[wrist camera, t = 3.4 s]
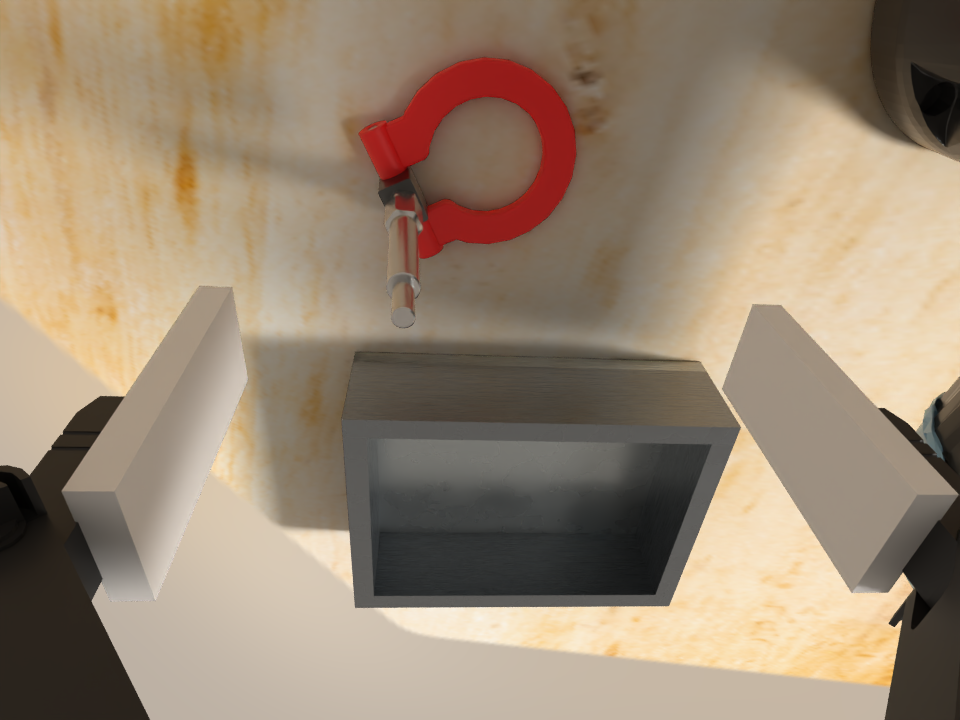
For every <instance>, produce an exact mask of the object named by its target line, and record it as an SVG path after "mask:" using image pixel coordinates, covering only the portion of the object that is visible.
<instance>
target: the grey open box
mask: <svg viewBox="0 0 960 720" xmlns="http://www.w3.org/2000/svg"><path fill="white" fill-rule="evenodd" d="M341 420H342V434H343V448H344V462H345V476H346V490H347V503H348V517H349V531H350V545H351V559H352V572H353V586H354V600H355V608H398V607H591V606H669V605H670V602H671V600H672V597H673V595H674V592H675V590H676V587H677V585H678V582H679V580H680V577H681V575H682V572H683V570H684V567H685V565H686V562H687V560H688V557H689V555H690V552H691V550H692V547H693V545H694V543H695V540H696V538H697V535H698V533H699V530H700V528H701V525H702V523H703V520H704V518H705V515H706V513H707V510H708V508H709V505H710V503H711V500H712V498H713V495H714V493H715V490H716V488H717V485H718V483H719V480H720V478H721V476H722V473H723V471H724V468H725V466H726V463H727V461H728V458H729V456H730V453H731V451H732V448H733V446H734V443H735V441H736V438H737V436H738V433H739V431H740V428H741V427H740V425H739V424H738V422H737V420H736V419H735V417H734V416H733V414H732V412H731V411H730V409H729V407H728V406H727V404H726V403H725V401H724V399H723V398H722V396H721V394H720V393H719V391H718V389H717V388H716V386H715V385H714V383H713V381H712V380H711V378H710V376H709V375H708V373H707V372H706V370H705V368H704V367H703V365H702V363H701V362H687V361H653V360H618V359H584V358H549V357H514V356H480V355H445V354H411V353H376V352H355V356H354V361H353V366H352V371H351V375H350V380H349V385H348V390H347V395H346V400H345V405H344V410H343V414H342V419H341Z"/></svg>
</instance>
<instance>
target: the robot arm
mask: <svg viewBox="0 0 960 720" xmlns="http://www.w3.org/2000/svg"><path fill="white" fill-rule="evenodd" d="M871 61H872V69H873V76H874V80H875V85H876V88H877V91H878V94H879V97H880V100H881V102H882V104H883V106H884V108H885V110H886V112H887V113H888V115H889V117H890V118H891V119H892V121H893V122H894V123H895V125H896V126H897V127H898V128H899V129H900V130H901V131H902V132H903V133H904V134H905V135H907V136H908V137H909V138H910V139H912V140H913V141H915V142H916V143H918V144H920V145H922V146H923V147H925V148H928V149H930V150H932V151H935V152H937V153H939V154H942V155H944V156H946V157H949V158H951V159H954V160H956V161H959V162H960V0H876V5H875V9H874V16H873V22H872V33H871ZM247 381H248V375H247V370H246V364H245V358H244V352H243V347H242V341H241V335H240V330H239V324H238V318H237V312H236V307H235V301H234V295H233V290H232V287H212V286H199V287H198V288H197V290H196V291H195V293H194V294H193V296H192V297H191V299H190V300H189V302H188V303H187V305H186V306H185V308H184V309H183V311H182V312H181V314H180V315H179V317H178V318H177V320H176V321H175V323H174V324H173V326H172V327H171V329H170V330H169V332H168V333H167V335H166V336H165V338H164V339H163V341H162V342H161V344H160V345H159V347H158V348H157V350H156V351H155V353H154V354H153V356H152V357H151V359H150V360H149V362H148V363H147V364H146V366H145V367H144V369H143V370H142V372H141V373H140V375H139V376H138V378H137V379H136V381H135V382H134V384H133V385H132V387H131V388H130V390H129V391H128V393H127V394H126V396H125V397H118V396H100V397H99V398H97V399H95V400H94V401H93V402H91V403H90V404H88V405H87V406H85V407H84V408H83V409H81V410H80V411H78V412H77V413H76V414H75V416H74V417H73V418H72V420H71V421H70V422H69V424H68V425H67V426H66V428H65V429H64V430H63V435H60V436H59V437H58V439H57V440H56V441H55V442H54V444H53V445H52V449H51V450H49V451H48V452H47V453H46V454H45V456H44V457H43V458H42V460H41V461H40V462H39V464H38V465H37V466H36V468H35V469H34V470H33V472H32V473H31V474H30V476H29V475H28V474H27V473H26V472H25V471H24V470H23V469H21V468H17V467H12V466H8V465H6V466H0V720H150V719H149V717H148V715H147V713H146V711H145V709H144V707H143V705H142V703H141V701H140V699H139V697H138V695H137V693H136V691H135V689H134V687H133V685H132V683H131V681H130V679H129V677H128V674H127V672H126V670H125V668H124V667H123V664H122V662H121V660H120V658H119V656H118V654H117V652H116V650H115V649H114V646H113V644H112V642H111V640H110V638H109V636H108V634H107V632H106V630H105V628H104V626H103V624H102V622H101V620H100V618H99V616H98V614H97V612H96V610H95V608H94V606H93V604H92V602H91V601H92V599H93V597H94V595H95V593H96V591H97V589H98V587H99V585H100V583H101V582H102V584H103V586H104V589H105V591H106V593H107V595H108V598H109V600H110V601H155V600H156V598H157V596H158V594H159V591H160V589H161V586H162V584H163V582H164V579H165V577H166V575H167V572H168V570H169V567H170V565H171V563H172V560H173V558H174V556H175V553H176V551H177V548H178V546H179V544H180V541H181V539H182V536H183V534H184V532H185V529H186V527H187V524H188V522H189V520H190V517H191V515H192V513H193V510H194V508H195V505H196V503H197V501H198V498H199V496H200V493H201V491H202V488H203V486H204V483H205V481H206V479H207V477H208V474H209V472H210V470H211V467H212V465H213V462H214V460H215V458H216V455H217V453H218V450H219V448H220V446H221V443H222V441H223V439H224V436H225V434H226V431H227V429H228V427H229V424H230V422H231V419H232V417H233V415H234V412H235V410H236V407H237V405H238V403H239V400H240V398H241V396H242V393H243V391H244V388H245V386H246V384H247ZM722 390H723V391H724V393H725V394H726V396H727V397H728V399H729V401H730V402H731V404H732V405H733V407H734V409H735V410H736V412H737V413H738V415H739V416H740V418H741V420H742V421H743V423H744V424H745V426H746V427H747V429H748V431H749V432H750V434H751V435H752V437H753V438H754V440H755V442H756V443H757V445H758V446H759V448H760V449H761V451H762V453H763V454H764V456H765V457H766V459H767V460H768V462H769V464H770V465H771V467H772V468H773V470H774V471H775V473H776V475H777V476H778V478H779V479H780V481H781V482H782V484H783V486H784V487H785V489H786V490H787V492H788V493H789V495H790V497H791V498H792V500H793V501H794V503H795V504H796V506H797V508H798V509H799V511H800V512H801V514H802V515H803V517H804V519H805V520H806V522H807V523H808V525H809V526H810V528H811V530H812V531H813V533H814V534H815V536H816V537H817V539H818V541H819V542H820V544H821V545H822V547H823V548H824V550H825V552H826V553H827V555H828V556H829V558H830V559H831V561H832V563H833V564H834V566H835V567H836V569H837V570H838V572H839V574H840V575H841V577H842V578H843V580H844V581H845V583H846V585H847V586H848V588H849V589H850V591H851V592H852V593H885V592H889V591H890V589H891V588H892V587H893V585H894V584H895V582H896V581H897V580H898V578H899V577H900V575H901V574H902V573H904V574H905V576H906V577H907V579H908V581H909V583H910V584H911V586H912V588H913V591H912V592H911V593H910V595H909V596H908V597H907V599H906V600H905V601H904V603H903V604H902V605H901V606H900V608H899V609H898V610H897V612H896V613H895V614H894V616H893V617H892V619H891V620H890V622H889V624H890V625H891V626H893V627H895V626H896V625H897V623H898V622H899V621H900V620H902V626H901V631H900V637H899V642H898V648H897V654H896V659H895V665H894V670H893V676H892V682H891V687H890V693H889V698H888V704H887V710H886V716H885V720H960V377H959V378H958V379H957V380H956V381H955V383H954V384H953V385H952V386H951V387H950V388H949V390H948V391H947V392H944V393H942V394H941V395H939V396H938V397H937V398H935V399H934V400H933V401H932V403H931V405H930V407H929V408H928V409H926V410H925V413H924V418H923V423H922V424H921V425H920V427H919V428H918V429H917V431H916V432H915V430H914V429H913V428H912V427H911V426H910V425H909V424H908V423H906V422H905V421H903V420H902V419H900V418H899V417H897V416H896V415H894V414H893V413H891V412H889V411H888V410H886V409H885V408H877V407H876V406H875V405H874V404H873V403H872V402H871V401H870V400H869V398H868V397H867V396H866V395H865V394H864V393H863V392H862V391H861V390H860V389H859V388H858V387H857V386H856V385H855V384H854V382H853V381H852V380H851V379H850V378H849V377H848V376H847V375H846V374H845V373H844V372H843V371H842V370H841V369H840V368H839V367H838V365H837V364H836V363H835V362H834V361H833V360H832V359H831V358H830V357H829V356H828V355H827V354H826V353H825V352H824V351H823V350H822V348H821V347H820V346H819V345H818V344H817V343H816V342H815V341H814V340H813V339H812V338H811V337H810V336H809V335H808V334H807V332H806V331H805V330H804V329H803V328H802V327H801V326H800V325H799V324H798V323H797V322H796V321H795V320H794V319H793V318H792V317H791V315H790V314H789V313H788V312H787V311H786V310H785V309H784V308H783V307H782V306H781V305H759V304H753V305H752V308H751V311H750V314H749V316H748V319H747V322H746V325H745V327H744V330H743V333H742V335H741V338H740V341H739V344H738V346H737V349H736V352H735V355H734V357H733V360H732V363H731V366H730V368H729V371H728V374H727V377H726V379H725V382H724V385H723V388H722Z"/></svg>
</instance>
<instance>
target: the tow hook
mask: <svg viewBox="0 0 960 720" xmlns="http://www.w3.org/2000/svg"><path fill="white" fill-rule="evenodd" d="M481 97H496V98H503V99H506V100H508V101H511V102H513V103H516V104H517V105H519V106H520V107H521V108H523V109H524V110H525V111H526V112H528V113H529V114H530V116H531V117H532V118H533V120H534V121H535V123H536V125H537V128H538V130H539V133H540V136H541V141H542V151H543V153H542V160H541V166H540V169H539V172H538V174H537V176H536V179H535V181H534V182H533V184H532V185H531V186H530V188H529V189H528V190H527V192H526V193H525V194H524V195H523V196H521V197H520V198H519V199H518V200H516V201H515V202H514V203H512V204H510V205H507V206H505V207H503V208H501V209H496V210H490V211H477V210H470V209H468V208H465V207H462V206H459V205H457V204H456V203H454V202H453V201H451V200H449V199H443V200H441V201H438V202H436V203H434V204H431V205H429V206H427V203H426V201H425V198H424V196H423V194H422V192H421V190H420V187H419V185H418V183H417V181H416V179H415V176H414V174H413V172H412V170H411V168H410V166H411V165H413V164H416V163H418V162H420V161H423V160H425V159H426V158H427V156H428V154H429V147H430V143H431V140H432V137H433V134H434V131H435V130H436V128H437V127H438V125H439V124H440V122H441V121H442V119H443V118H444V117H445V116H446V115H447V114H448V113H449V112H450V111H451V110H453V109H454V108H455V107H456V106H458V105H460V104H462V103H464V102H466V101H468V100H471V99H476V98H481ZM359 136H360V138H361V140H362V142H363V144H364V146H365V148H366V150H367V152H368V154H369V156H370V158H371V160H372V162H373V164H374V167H375V169H376V171H377V173H378V175H379V177H380V182H379V191H378V194H379V196H380V198H381V200H382V202H383V204H384V206H385V215H384V226H385V228H386V230H387V232H388V234H389V245H388V264H387V282H386V289H387V293H388V295H389V296H390V298H392V310H391V320H392V322H393V324H394V325H396V326H397V327H399V328H408V327H410V326H412V325H413V324H414V322H415V319H416V316H415V299H416V298H417V297H418V295H419V293H420V290H421V285H420V264H419V258H422V259H424V258H429V257H432V256H434V255H436V254H437V253H439V252H440V251H441V250H442V249H443V245H444V244H447V243H449V242H451V241H454V240H456V239H457V240H460V241H463V242H466V243H481V244H491V243H496V242H502V241H507V240H511V239H513V238H516V237H518V236H520V235H522V234H524V233H526V232H529V231H531V230H532V229H533V228H534V227H536V226H537V225H538V224H540V223H541V222H542V221H543V220H545V219H546V218H547V217H548V216H549V215H550V214H551V212H552V211H553V210H554V209H555V207H556V206H557V205H558V204H559V202H560V201H561V200H562V198H563V196H564V194H565V192H566V190H567V187H568V185H569V183H570V181H571V179H572V175H573V169H574V164H575V159H576V142H575V130H574V127H573V124H572V121H571V118H570V115H569V112H568V109H567V107H566V105H565V104H564V103H563V101H562V100H561V98H560V97H559V95H558V94H557V92H556V91H555V89H554V88H553V87H552V86H551V85H550V84H549V83H548V82H546V81H545V80H544V79H543V78H541V77H540V76H539V75H538V74H537V73H535V72H534V71H533V70H532V69H530V68H527V67H525V66H522V65H520V64H518V63H515V62H513V61H510V60H506V59H496V58H486V57H483V58H477V59H472V60H467V61H461V62H458V63H456V64H454V65H452V66H450V67H448V68H446V69H444V70H442V71H440V72H438V73H436V74H435V75H434V76H433V77H432V78H431V79H430V80H429V81H428V82H427V83H426V84H424V85H423V86H422V87H421V88H420V89H419V90H418V91H417V93H416V94H415V96H414V97H413V99H412V101H411V102H410V104H409V105H408V107H407V109H406V110H405V112H404V115H403V116H401V117H399V118H397V119H394V120H392V121H390V122H388V123H387V122H386V121H385V120H384V121H379V122H376V123H373V124H371V125H369V126H367V127H366V128H364V129H363V130H361V131H360V132H359Z"/></svg>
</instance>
